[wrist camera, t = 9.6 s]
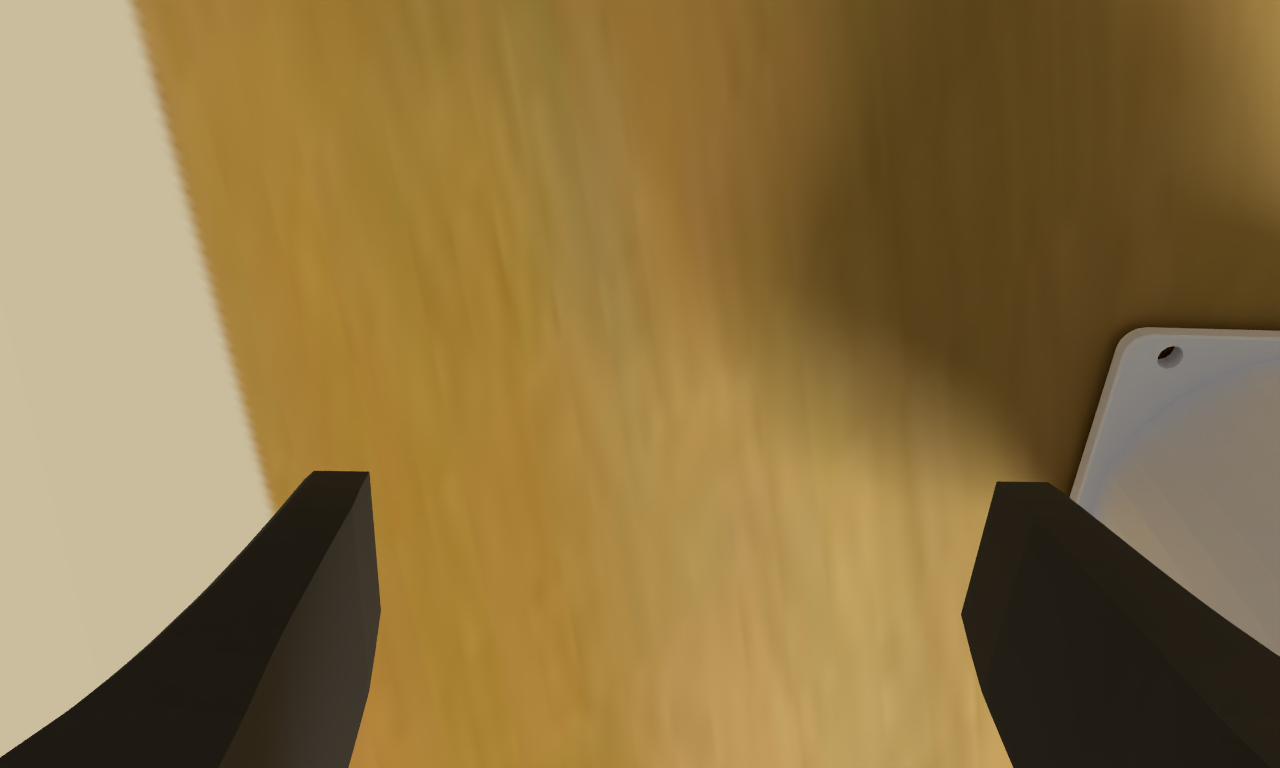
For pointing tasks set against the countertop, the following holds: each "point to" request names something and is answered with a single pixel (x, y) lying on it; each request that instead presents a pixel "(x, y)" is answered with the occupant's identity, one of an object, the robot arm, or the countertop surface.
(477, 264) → the countertop surface
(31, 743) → the robot arm
